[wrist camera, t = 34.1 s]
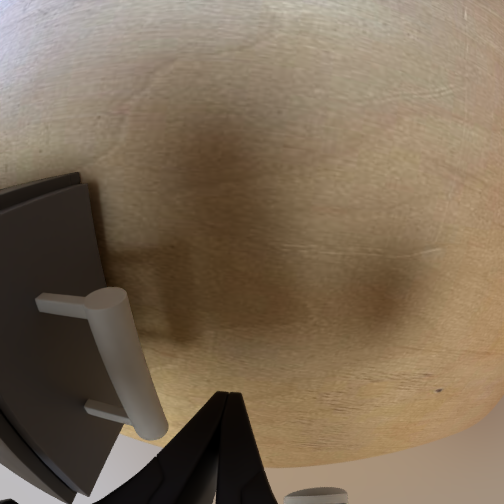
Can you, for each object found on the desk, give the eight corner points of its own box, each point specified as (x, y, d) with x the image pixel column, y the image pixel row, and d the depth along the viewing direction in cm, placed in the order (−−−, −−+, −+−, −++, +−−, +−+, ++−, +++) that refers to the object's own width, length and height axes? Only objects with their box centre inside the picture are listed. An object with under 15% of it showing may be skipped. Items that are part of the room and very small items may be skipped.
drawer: (165, 173, 12) (4, 240, 4) (201, 399, 17) (165, 522, 9) (-43, 210, 14) (-121, 249, 6) (4, 353, 19) (-48, 409, 11)
